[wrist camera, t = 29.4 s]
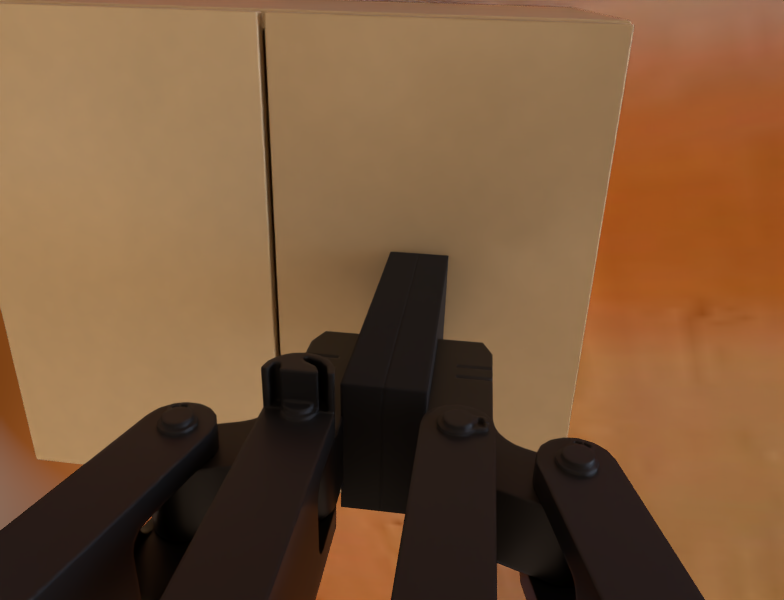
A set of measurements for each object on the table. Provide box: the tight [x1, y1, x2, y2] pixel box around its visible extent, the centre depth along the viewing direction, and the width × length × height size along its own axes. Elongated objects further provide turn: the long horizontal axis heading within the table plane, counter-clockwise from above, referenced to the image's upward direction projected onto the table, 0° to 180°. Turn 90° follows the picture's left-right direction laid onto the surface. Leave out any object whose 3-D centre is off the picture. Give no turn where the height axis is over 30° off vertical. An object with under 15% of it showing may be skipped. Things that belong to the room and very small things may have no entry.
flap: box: [264, 11, 634, 493], centre depth 18 cm, size 8×14×1 cm, turn 179°
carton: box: [0, 0, 631, 464], centre depth 25 cm, size 17×14×13 cm
